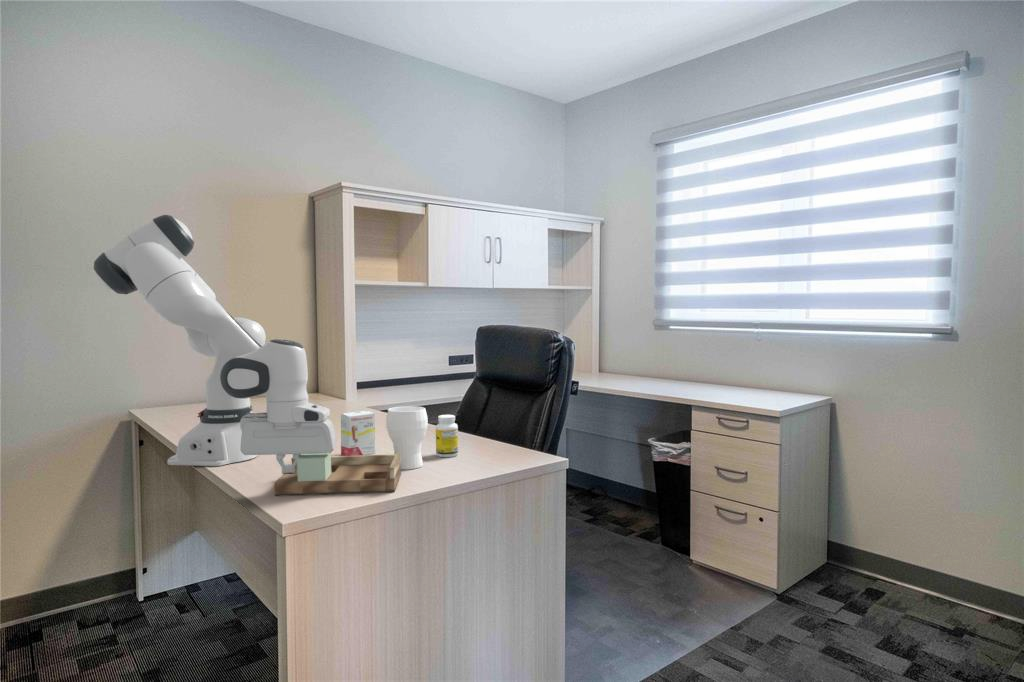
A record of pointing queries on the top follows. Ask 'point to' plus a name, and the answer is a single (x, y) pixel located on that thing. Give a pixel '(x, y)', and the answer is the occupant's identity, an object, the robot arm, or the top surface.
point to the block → (314, 467)
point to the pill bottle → (446, 436)
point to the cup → (407, 433)
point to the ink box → (358, 433)
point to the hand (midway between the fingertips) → (289, 473)
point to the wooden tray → (347, 477)
